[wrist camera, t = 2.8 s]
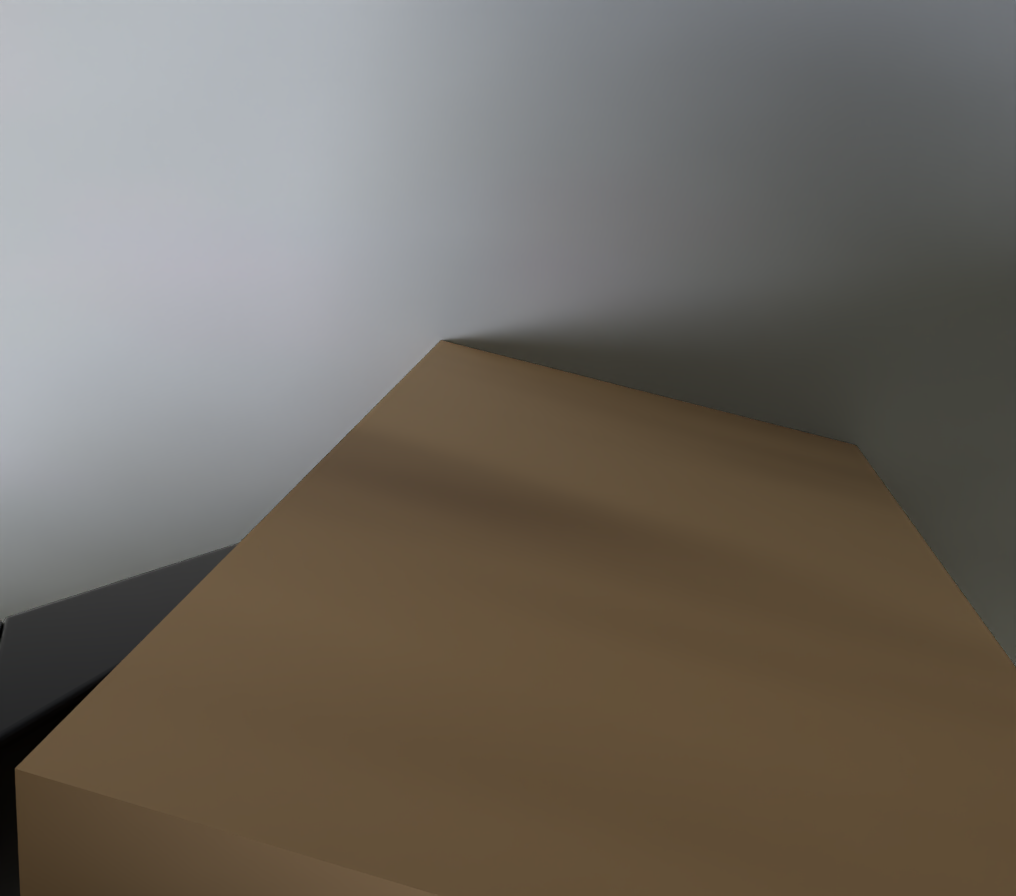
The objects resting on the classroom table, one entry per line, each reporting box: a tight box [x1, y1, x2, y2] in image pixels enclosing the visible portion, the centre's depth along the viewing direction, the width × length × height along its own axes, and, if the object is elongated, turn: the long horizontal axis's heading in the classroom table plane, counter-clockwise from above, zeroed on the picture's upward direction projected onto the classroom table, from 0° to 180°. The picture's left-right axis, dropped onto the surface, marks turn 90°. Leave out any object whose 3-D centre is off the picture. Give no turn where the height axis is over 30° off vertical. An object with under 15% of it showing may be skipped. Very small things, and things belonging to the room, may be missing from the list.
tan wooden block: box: [15, 340, 1016, 896], centre depth 7 cm, size 5×5×7 cm
